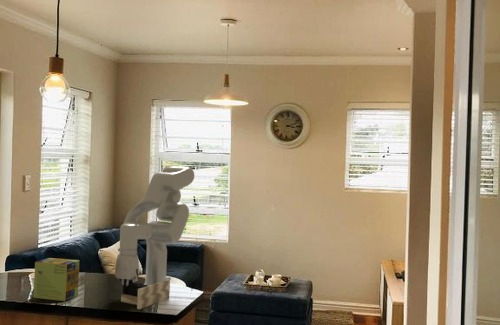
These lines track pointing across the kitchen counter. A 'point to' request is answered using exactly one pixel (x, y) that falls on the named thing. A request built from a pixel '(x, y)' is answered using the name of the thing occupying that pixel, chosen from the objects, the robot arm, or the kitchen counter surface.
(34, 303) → the kitchen counter surface
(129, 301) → the display bay
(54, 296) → the protein box
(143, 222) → the robot arm
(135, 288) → the digital camera
